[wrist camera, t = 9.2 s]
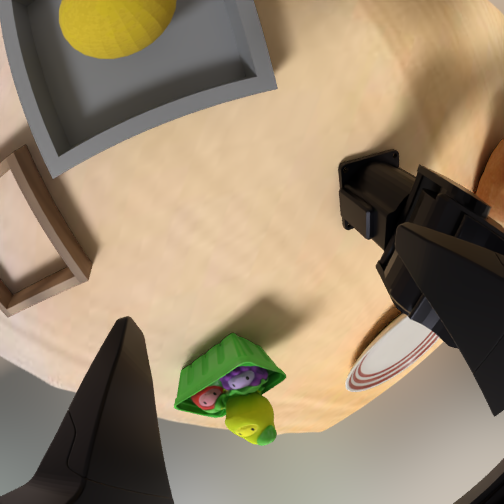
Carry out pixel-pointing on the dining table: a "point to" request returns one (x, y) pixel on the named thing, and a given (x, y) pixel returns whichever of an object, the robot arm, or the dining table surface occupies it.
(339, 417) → the dining table surface
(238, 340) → the fruit basket
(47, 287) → the lemon holder
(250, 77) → the tray
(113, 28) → the lemon
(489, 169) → the jug
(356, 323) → the dining table surface
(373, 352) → the dinner plate
